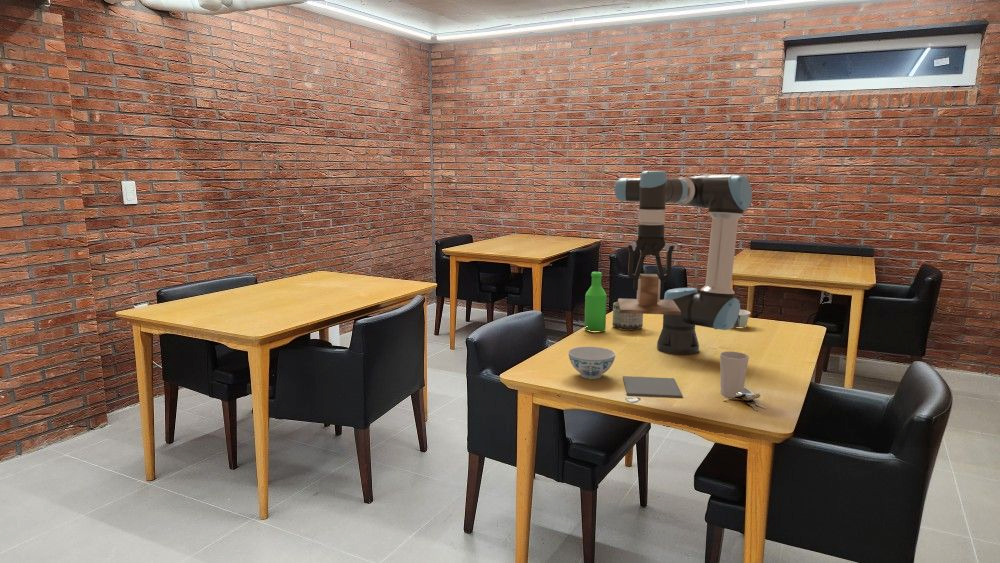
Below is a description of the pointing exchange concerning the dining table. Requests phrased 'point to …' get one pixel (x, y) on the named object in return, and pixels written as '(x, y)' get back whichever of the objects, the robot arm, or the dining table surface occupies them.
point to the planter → (626, 319)
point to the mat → (651, 386)
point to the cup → (733, 372)
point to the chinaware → (591, 361)
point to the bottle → (595, 305)
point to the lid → (648, 299)
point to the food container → (742, 319)
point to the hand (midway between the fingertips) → (648, 300)
